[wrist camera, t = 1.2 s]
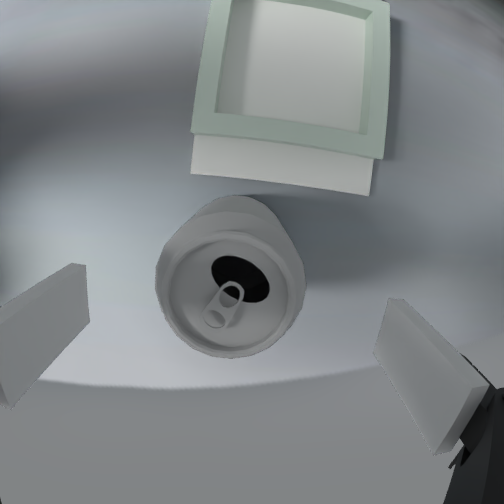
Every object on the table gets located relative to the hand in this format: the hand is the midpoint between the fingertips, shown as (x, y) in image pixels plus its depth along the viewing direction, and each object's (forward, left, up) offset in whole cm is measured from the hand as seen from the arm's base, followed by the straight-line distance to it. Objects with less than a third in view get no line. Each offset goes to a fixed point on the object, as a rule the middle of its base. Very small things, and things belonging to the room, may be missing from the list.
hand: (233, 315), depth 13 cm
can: (0, 0, -13) cm, 13 cm away
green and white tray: (+3, +15, -13) cm, 20 cm away
